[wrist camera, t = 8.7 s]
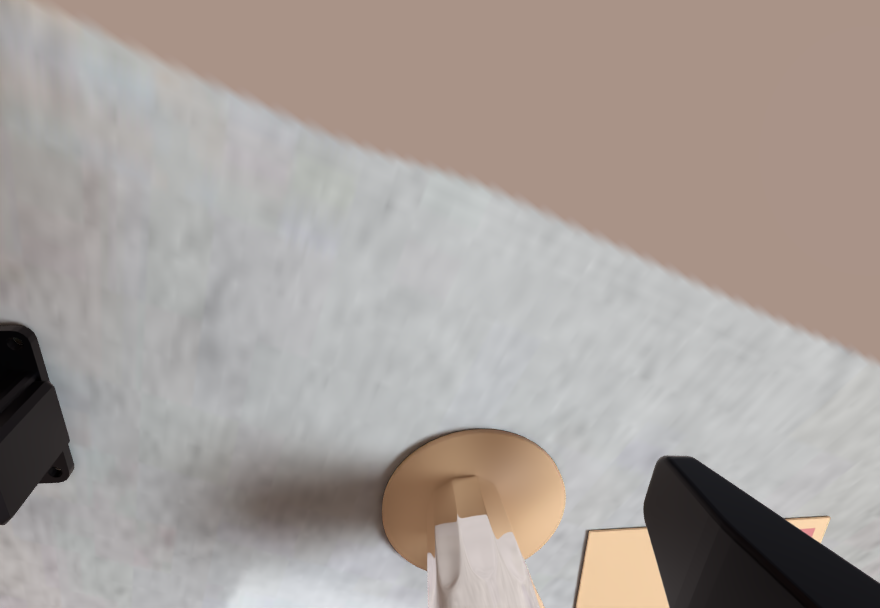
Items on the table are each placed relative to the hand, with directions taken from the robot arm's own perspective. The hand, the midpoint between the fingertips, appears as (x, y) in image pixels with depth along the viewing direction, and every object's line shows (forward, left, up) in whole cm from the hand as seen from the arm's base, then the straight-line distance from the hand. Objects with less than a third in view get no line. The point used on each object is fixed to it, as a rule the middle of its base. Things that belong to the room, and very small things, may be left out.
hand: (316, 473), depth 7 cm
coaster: (+5, -13, -13) cm, 20 cm away
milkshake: (+5, -13, -13) cm, 19 cm away
